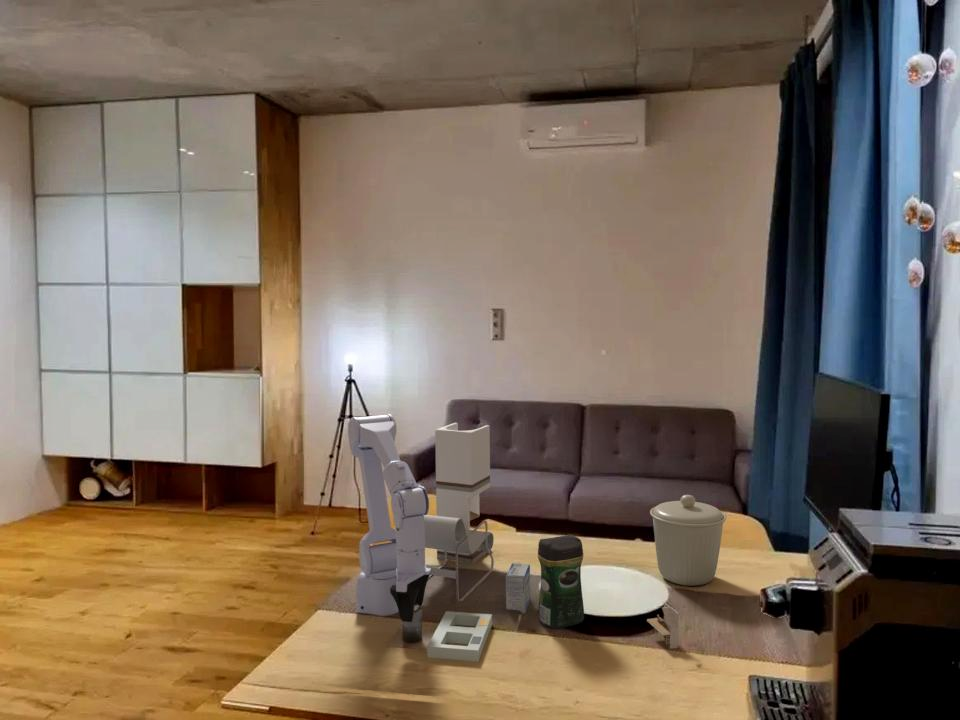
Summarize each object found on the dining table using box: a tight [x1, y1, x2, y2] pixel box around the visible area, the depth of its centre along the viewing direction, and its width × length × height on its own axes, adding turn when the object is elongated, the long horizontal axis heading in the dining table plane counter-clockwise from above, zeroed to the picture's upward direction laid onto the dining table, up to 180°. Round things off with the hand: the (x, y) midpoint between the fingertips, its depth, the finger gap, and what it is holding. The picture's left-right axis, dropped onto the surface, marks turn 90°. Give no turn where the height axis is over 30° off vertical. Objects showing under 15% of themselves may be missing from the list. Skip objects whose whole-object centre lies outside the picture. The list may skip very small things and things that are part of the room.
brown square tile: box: [387, 627, 436, 651], centre depth 150 cm, size 8×8×1 cm
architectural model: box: [646, 602, 680, 650], centre depth 149 cm, size 3×7×7 cm, turn 15°
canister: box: [649, 494, 727, 587], centre depth 181 cm, size 18×18×21 cm
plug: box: [401, 603, 423, 643], centre depth 149 cm, size 4×4×7 cm
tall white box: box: [434, 422, 491, 565], centre depth 199 cm, size 11×11×35 cm
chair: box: [423, 514, 495, 602], centre depth 180 cm, size 13×25×20 cm, turn 158°
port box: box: [426, 610, 493, 663], centre depth 149 cm, size 10×16×3 cm, turn 170°
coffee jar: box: [537, 533, 585, 629], centre depth 158 cm, size 10×8×19 cm
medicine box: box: [505, 562, 531, 615], centre depth 167 cm, size 8×4×9 cm, turn 168°
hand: (411, 612), depth 149 cm, fingers open, 7 cm apart
